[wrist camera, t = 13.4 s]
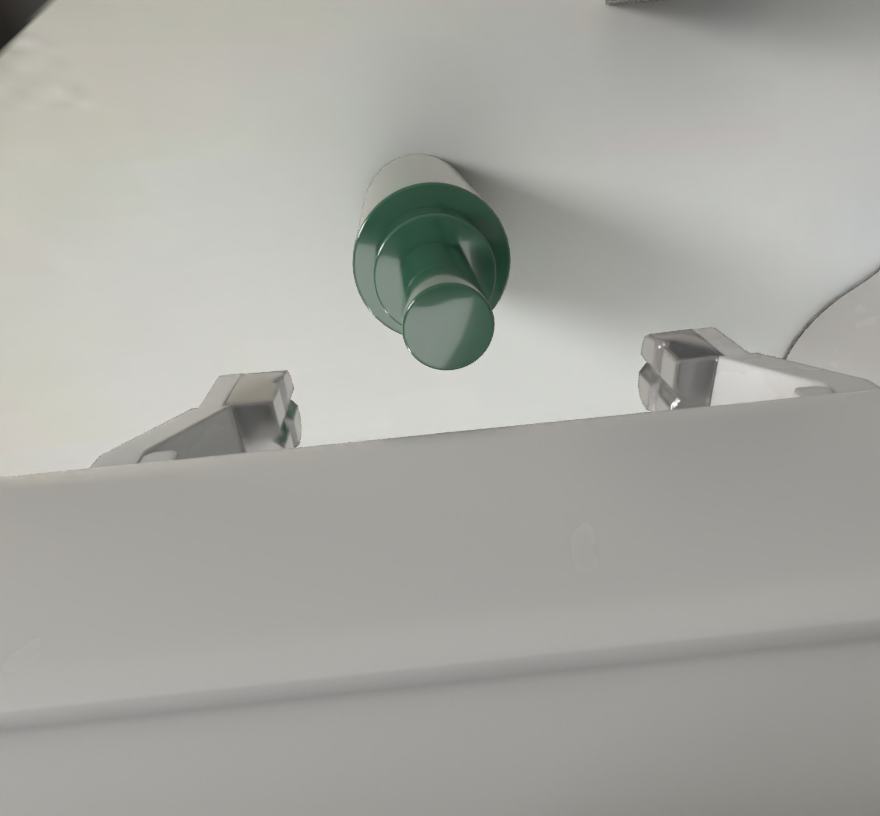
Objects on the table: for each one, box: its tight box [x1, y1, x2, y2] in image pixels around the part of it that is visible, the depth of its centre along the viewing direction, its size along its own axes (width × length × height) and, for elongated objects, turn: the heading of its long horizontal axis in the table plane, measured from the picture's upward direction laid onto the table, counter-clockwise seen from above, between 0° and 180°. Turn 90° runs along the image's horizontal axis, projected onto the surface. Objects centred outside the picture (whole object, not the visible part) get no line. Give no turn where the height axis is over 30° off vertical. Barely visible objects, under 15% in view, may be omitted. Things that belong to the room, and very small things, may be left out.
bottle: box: [353, 154, 510, 370], centre depth 23 cm, size 6×6×18 cm
